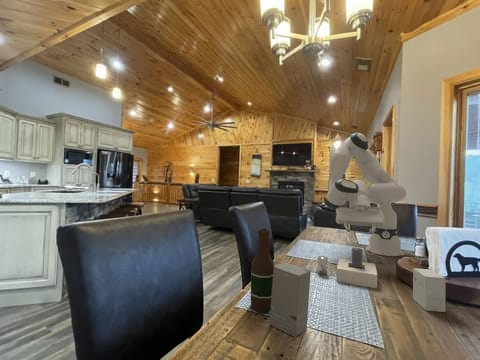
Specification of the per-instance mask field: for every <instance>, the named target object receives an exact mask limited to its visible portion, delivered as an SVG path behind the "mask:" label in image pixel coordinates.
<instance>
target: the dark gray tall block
mask: <svg viewBox="0 0 480 360" xmlns="http://www.w3.org/2000/svg"><path fill="white" fill-rule="evenodd" d="M363 251H364V250H363V249H362V248H360V247H352V248H351V260H352V262H351V268H357V269H362V262H363V257H364V255H363Z"/></svg>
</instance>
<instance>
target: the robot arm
mask: <svg viewBox="0 0 480 360" xmlns="http://www.w3.org/2000/svg"><path fill="white" fill-rule="evenodd" d="M329 148H330V149H329V154H328V156H329V162H328V163H329V170H328V172H329V173H328V183H327V184H328V185H327V186H328V187H327V194H326V196H325V197H324V200H323V201H324V203H325V206H327V207H328V208H329V209H331V210H333V211H334V210H335V214H336V215H335V222H336V224H338V225H343V227H344V228H345V231H346V232H348V233H350V232H351V231H350V230H351V227H350V226H358V227H361V226H362V227H371V228H369V235H370V236H369V237H368V242H369V243H368V246H366V247H365V251H367V252H371V253H373V254H375V255H380V256H387V257H398V256H405V254H406V253H404V252H403V251H402V248H401V247H402V246H401V245H402V244H401V243H402V242H401V239H400V238H399V237H398V232H399V231H398V228H397V227H398V226H397V224H398V221H397V220H398V217H397V213H396V212H395V211H394V209H393V207H392V203H398V202H401V201H403V200H404V199H406V195H407V191H406V188H405V187H404V186H403V185H402V184H399V183H398V182H397V181H396V180H395V179H394V178H393V177H392V176H390V174H388V172H386V170H385V169H384V167H383V166H382V165H381V163H380V161H379V160H378V158H377V156H376V155H375V154H374V153H373V152H371V150H370V149H369V141H368V138H367V136H366V135H365V134H364V133H362V132H358V131H355V132H354V133H352V134H351V135H350V136H349V137H347V138H346V139H345V140H336V141H333V142H332V144H331V145H330V147H329ZM353 158H354V159H355V163H356V165H357V168H358V169H359V171H360V173H361V174H362V176H363V177H364V180H365V181H366V182H367V183H370V184H369V185H367V183H366V182H365V181H363V180H361V179H354V180H351V179H350V180H349V179H346V178H343V176H344V175H345V173H346V172H347V170H348V168H349V166H350V164H351V160H352V159H353ZM347 201H348V203H349V204H348V205H349V206H344V205H345V203H347Z"/></svg>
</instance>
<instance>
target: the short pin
mask: <svg viewBox="0 0 480 360" xmlns="http://www.w3.org/2000/svg"><path fill="white" fill-rule="evenodd" d="M328 260H329V258H328V256H325V255H318V256H317V275H320V276H328V266H329V265H328V262H329V261H328Z"/></svg>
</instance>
